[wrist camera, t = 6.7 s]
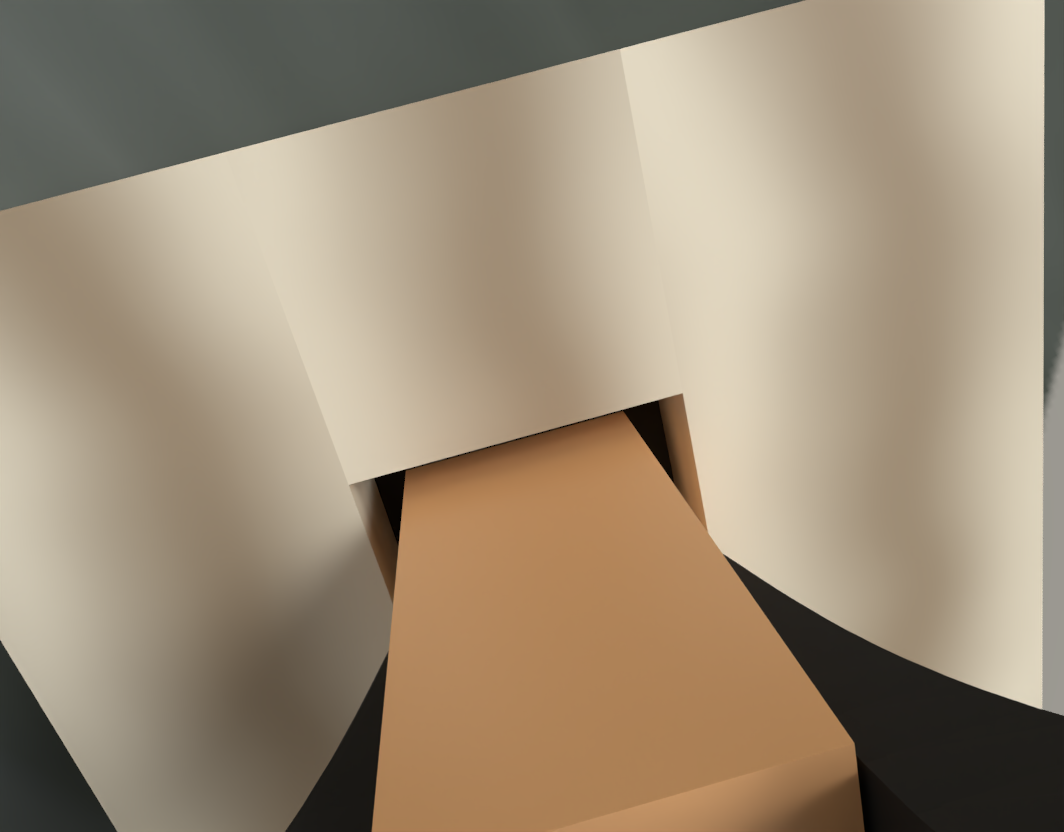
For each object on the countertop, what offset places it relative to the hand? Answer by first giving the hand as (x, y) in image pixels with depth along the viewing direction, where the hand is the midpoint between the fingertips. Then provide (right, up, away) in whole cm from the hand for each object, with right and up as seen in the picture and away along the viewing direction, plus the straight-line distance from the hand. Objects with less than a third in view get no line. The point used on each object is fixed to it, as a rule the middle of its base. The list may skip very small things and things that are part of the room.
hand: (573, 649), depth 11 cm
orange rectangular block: (-1, +1, +3) cm, 3 cm away
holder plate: (0, +1, +4) cm, 4 cm away
